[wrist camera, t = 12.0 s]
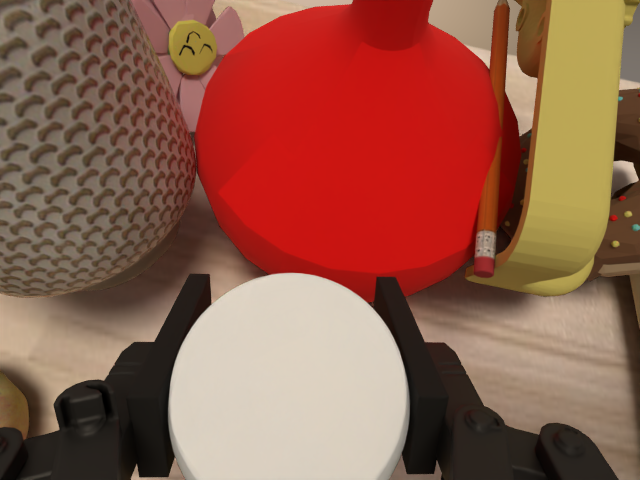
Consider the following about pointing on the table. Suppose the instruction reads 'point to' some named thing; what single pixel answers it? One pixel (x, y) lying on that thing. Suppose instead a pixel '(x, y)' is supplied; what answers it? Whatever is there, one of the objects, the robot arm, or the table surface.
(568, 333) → the table surface
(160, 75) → the planter
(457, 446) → the robot arm
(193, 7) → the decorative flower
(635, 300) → the rolling pin
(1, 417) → the apple
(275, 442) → the pill bottle
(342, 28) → the vase
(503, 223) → the donut
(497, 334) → the table surface
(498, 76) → the pencil
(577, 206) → the plastic component
